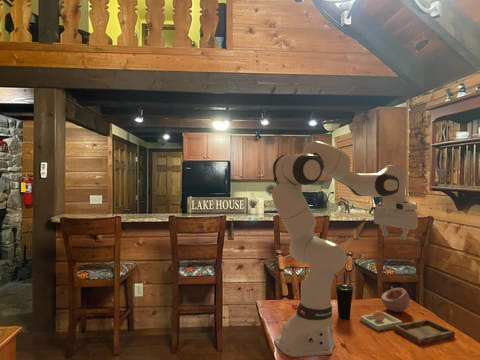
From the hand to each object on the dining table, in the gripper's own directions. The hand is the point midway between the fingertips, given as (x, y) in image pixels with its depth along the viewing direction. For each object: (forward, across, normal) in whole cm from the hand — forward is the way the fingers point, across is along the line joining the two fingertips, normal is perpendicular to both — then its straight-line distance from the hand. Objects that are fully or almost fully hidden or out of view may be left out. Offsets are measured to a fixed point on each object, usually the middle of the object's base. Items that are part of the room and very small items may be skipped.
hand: (394, 237), depth 132 cm
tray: (+37, -4, -3) cm, 37 cm away
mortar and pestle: (+37, -12, +13) cm, 41 cm away
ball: (+34, -5, -3) cm, 35 cm away
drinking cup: (+37, -14, -14) cm, 42 cm away
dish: (+37, +9, +6) cm, 39 cm away
